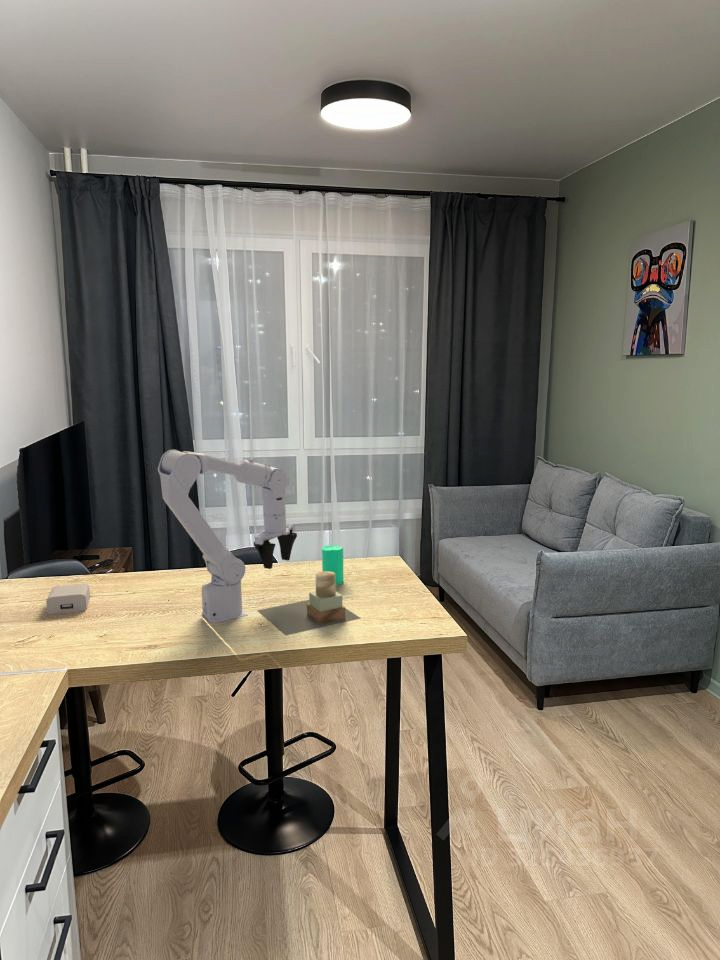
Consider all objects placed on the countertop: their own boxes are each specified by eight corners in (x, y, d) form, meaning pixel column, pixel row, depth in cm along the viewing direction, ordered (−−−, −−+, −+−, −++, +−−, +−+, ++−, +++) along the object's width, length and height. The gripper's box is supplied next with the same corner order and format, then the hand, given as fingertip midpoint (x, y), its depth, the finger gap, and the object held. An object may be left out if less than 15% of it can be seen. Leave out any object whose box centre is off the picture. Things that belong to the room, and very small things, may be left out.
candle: (343, 586, 187) (342, 545, 185) (321, 586, 187) (321, 545, 185) (344, 579, 193) (343, 539, 191) (323, 579, 193) (322, 539, 191)
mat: (285, 637, 153) (285, 635, 153) (256, 612, 168) (256, 610, 168) (360, 620, 163) (360, 618, 163) (327, 597, 178) (327, 596, 178)
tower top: (320, 611, 159) (320, 599, 158) (309, 604, 164) (309, 592, 163) (342, 607, 162) (342, 595, 161) (331, 599, 167) (330, 588, 166)
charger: (92, 592, 184) (86, 611, 170) (56, 595, 182) (47, 615, 168) (91, 576, 183) (85, 593, 169) (54, 579, 181) (45, 597, 167)
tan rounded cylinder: (321, 598, 159) (321, 578, 158) (312, 592, 163) (312, 573, 162) (339, 595, 161) (338, 575, 161) (329, 589, 166) (329, 570, 165)
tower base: (319, 624, 159) (319, 612, 158) (307, 615, 165) (306, 603, 164) (345, 618, 162) (345, 607, 162) (332, 609, 168) (331, 598, 168)
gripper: (269, 521, 163) (272, 574, 165) (303, 508, 175) (305, 558, 178) (247, 518, 166) (250, 570, 169) (281, 506, 179) (284, 554, 181)
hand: (277, 563), depth 174 cm, fingers open, 7 cm apart
